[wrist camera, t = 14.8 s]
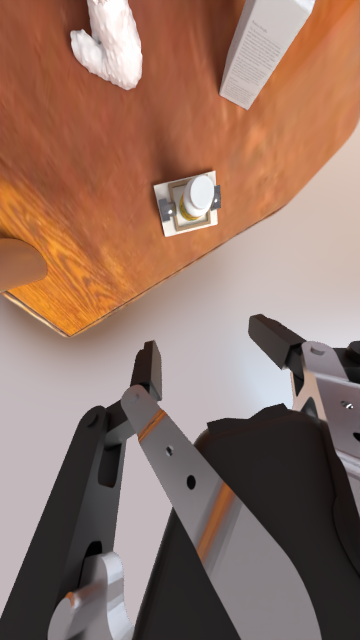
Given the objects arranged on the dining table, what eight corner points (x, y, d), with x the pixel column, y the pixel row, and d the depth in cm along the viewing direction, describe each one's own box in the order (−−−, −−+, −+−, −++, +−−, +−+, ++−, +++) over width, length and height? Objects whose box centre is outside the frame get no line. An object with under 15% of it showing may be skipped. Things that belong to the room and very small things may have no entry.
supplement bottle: (207, 202, 29) (225, 187, 21) (193, 227, 31) (205, 221, 23) (187, 183, 27) (199, 157, 19) (174, 210, 29) (179, 198, 21)
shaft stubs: (163, 223, 30) (163, 221, 28) (158, 202, 28) (158, 199, 26) (216, 209, 30) (221, 207, 28) (215, 188, 28) (220, 184, 26)
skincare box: (258, 71, 22) (345, -79, 12) (247, 112, 24) (312, 15, 14) (226, 50, 21) (292, -139, 10) (217, 95, 23) (264, -25, 12)
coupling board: (165, 236, 32) (165, 236, 31) (153, 187, 27) (153, 184, 26) (215, 224, 32) (218, 223, 31) (213, 173, 27) (216, 168, 26)
